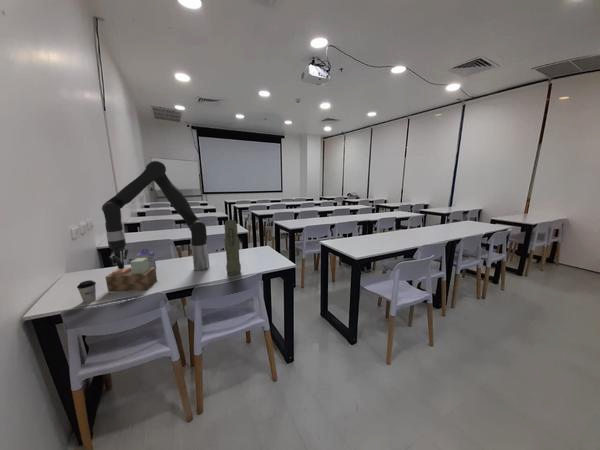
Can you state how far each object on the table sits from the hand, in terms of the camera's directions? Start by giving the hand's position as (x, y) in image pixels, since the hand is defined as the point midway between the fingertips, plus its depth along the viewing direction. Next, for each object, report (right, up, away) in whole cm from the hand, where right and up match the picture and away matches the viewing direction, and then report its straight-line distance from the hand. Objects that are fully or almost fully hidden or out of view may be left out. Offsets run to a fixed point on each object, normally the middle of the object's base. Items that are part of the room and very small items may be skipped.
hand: (121, 268), depth 127 cm
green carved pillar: (+57, -7, +20) cm, 61 cm away
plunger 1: (0, -10, +2) cm, 11 cm away
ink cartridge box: (-3, -7, +26) cm, 27 cm away
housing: (+5, -11, +3) cm, 12 cm away
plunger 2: (+10, -5, +2) cm, 11 cm away
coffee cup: (-6, -14, -12) cm, 20 cm away
